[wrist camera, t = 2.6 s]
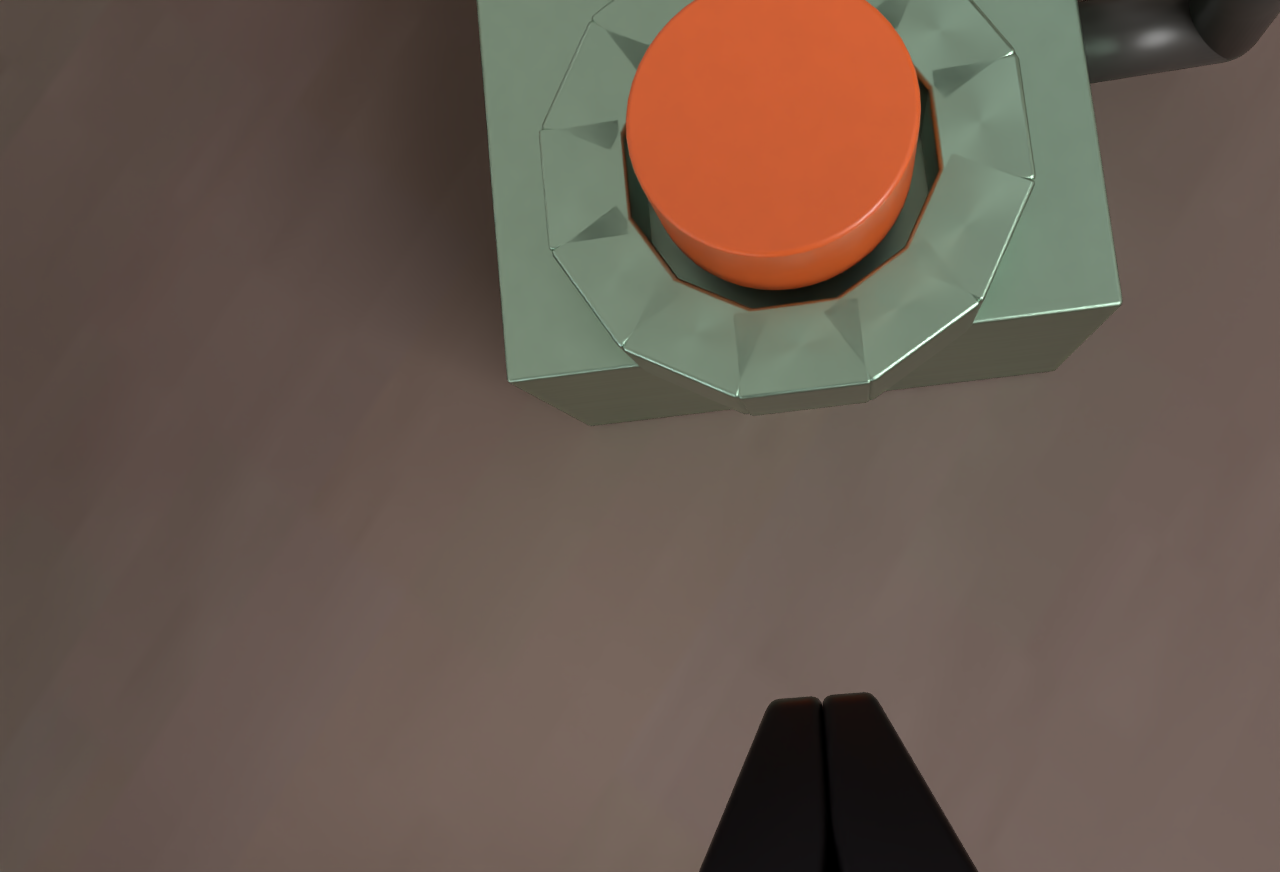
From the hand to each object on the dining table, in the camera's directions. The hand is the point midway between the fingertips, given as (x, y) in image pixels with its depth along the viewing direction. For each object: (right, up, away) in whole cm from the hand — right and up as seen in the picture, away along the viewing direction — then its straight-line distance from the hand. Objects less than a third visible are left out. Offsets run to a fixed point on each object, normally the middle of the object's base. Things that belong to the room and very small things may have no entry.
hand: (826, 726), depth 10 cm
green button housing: (+1, +9, +14) cm, 16 cm away
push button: (0, +6, +7) cm, 9 cm away
